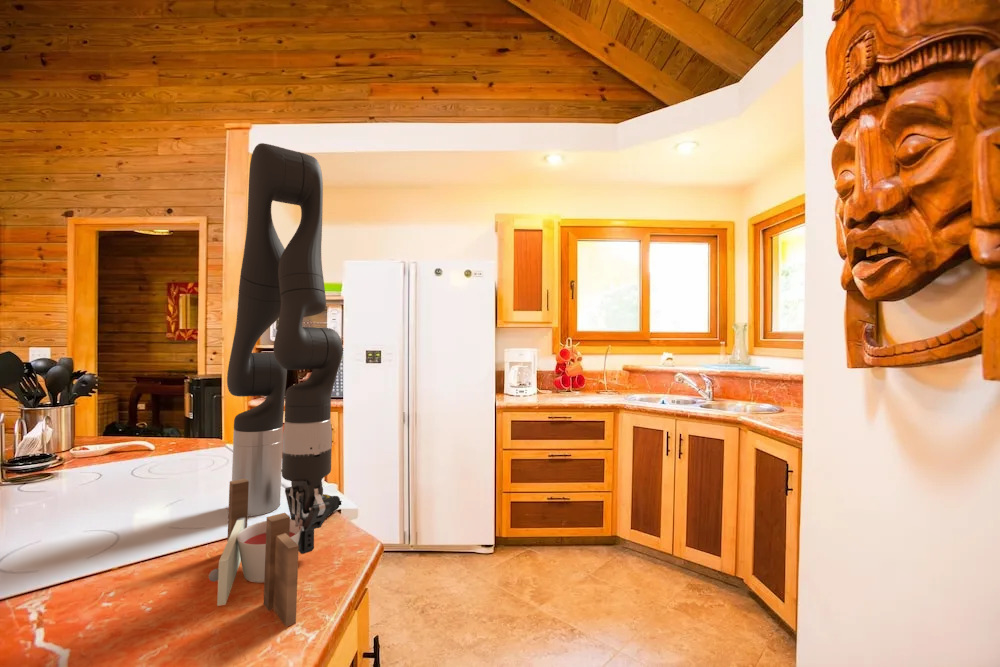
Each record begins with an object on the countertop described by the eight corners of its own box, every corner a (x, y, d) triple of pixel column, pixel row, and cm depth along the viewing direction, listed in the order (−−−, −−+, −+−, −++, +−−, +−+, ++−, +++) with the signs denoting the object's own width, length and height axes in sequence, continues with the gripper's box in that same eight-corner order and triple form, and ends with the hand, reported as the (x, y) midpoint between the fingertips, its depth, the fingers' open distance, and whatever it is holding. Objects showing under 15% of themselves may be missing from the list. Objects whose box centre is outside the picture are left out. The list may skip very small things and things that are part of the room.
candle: (231, 593, 62) (233, 549, 62) (239, 562, 70) (241, 523, 70) (300, 580, 66) (301, 538, 66) (300, 553, 74) (302, 516, 74)
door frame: (226, 551, 73) (229, 481, 74) (242, 547, 75) (245, 478, 75) (281, 629, 55) (284, 534, 55) (300, 620, 56) (303, 528, 57)
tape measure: (324, 525, 85) (324, 506, 85) (292, 522, 86) (292, 503, 86) (341, 512, 92) (342, 494, 92) (311, 509, 93) (312, 491, 93)
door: (226, 555, 72) (228, 518, 72) (244, 552, 73) (245, 516, 73) (204, 609, 58) (205, 563, 58) (226, 605, 59) (228, 560, 59)
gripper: (269, 443, 74) (267, 545, 73) (300, 459, 64) (297, 575, 64) (313, 436, 79) (311, 531, 79) (347, 450, 70) (345, 557, 70)
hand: (305, 551), depth 72 cm, fingers closed
